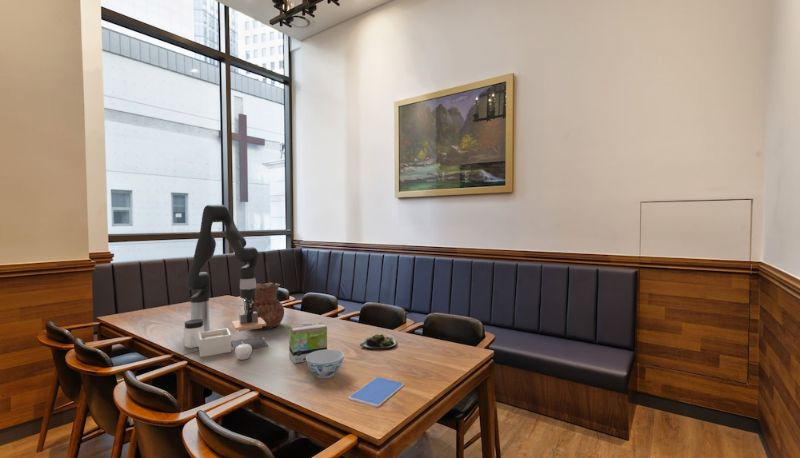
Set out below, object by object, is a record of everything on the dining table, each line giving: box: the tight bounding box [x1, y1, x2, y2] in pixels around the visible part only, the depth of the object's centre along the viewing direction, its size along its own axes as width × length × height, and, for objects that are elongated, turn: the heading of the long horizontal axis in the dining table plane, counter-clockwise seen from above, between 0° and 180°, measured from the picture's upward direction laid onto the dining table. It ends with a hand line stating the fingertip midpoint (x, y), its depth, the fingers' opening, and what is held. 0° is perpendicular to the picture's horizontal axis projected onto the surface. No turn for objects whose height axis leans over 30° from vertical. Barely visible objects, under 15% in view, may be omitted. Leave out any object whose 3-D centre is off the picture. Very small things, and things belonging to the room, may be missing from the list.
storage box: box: [198, 327, 232, 358], centre depth 178 cm, size 13×13×8 cm
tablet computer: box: [348, 376, 405, 408], centre depth 134 cm, size 19×13×1 cm, turn 152°
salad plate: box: [359, 333, 397, 351], centre depth 186 cm, size 19×18×5 cm
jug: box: [243, 282, 285, 330], centre depth 217 cm, size 22×21×25 cm
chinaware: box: [305, 348, 345, 379], centre depth 149 cm, size 15×15×8 cm
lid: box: [231, 312, 266, 332], centre depth 186 cm, size 14×14×7 cm
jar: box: [183, 319, 204, 349], centre depth 186 cm, size 9×8×12 cm
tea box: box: [288, 321, 328, 365], centre depth 167 cm, size 15×10×15 cm
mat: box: [231, 336, 269, 351], centre depth 186 cm, size 17×15×1 cm
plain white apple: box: [234, 341, 253, 361], centre depth 167 cm, size 7×7×8 cm
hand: (248, 321), depth 186 cm, fingers closed on lid, 4 cm apart
